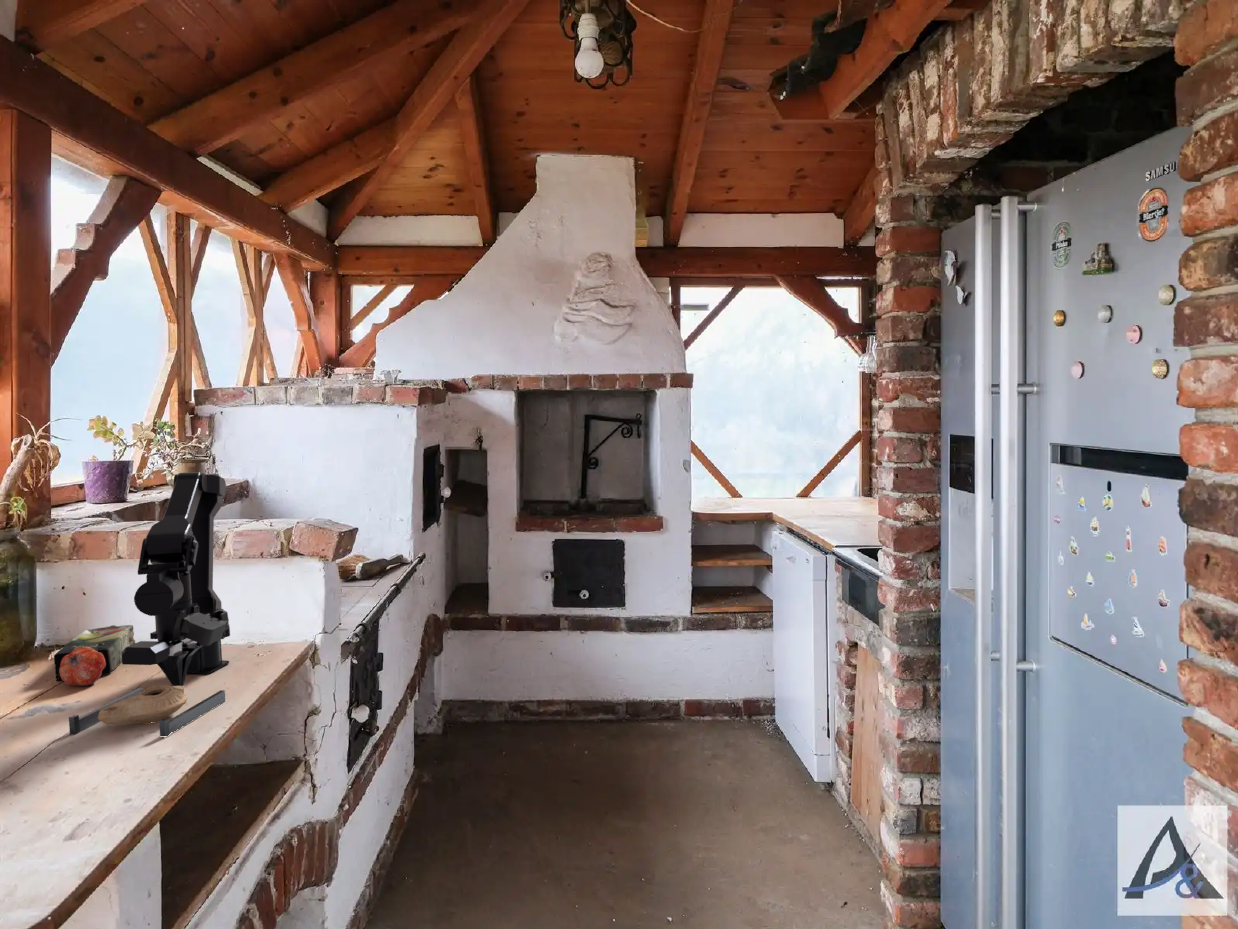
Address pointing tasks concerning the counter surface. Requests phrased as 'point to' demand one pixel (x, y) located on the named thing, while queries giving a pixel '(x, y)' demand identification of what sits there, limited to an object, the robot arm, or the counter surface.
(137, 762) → the counter surface
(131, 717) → the pottery oil lamp
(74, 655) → the red round fruit
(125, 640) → the juice carton
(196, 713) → the steel chute
